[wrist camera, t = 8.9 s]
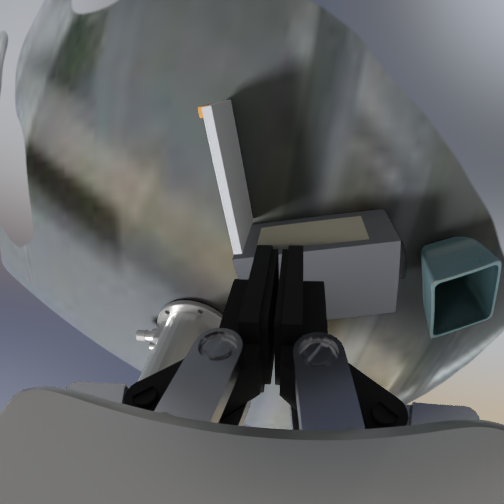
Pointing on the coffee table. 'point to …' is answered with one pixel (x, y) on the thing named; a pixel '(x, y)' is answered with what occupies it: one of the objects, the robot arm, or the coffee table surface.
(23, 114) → the coffee table surface
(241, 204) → the side door
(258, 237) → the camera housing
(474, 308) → the flower pot
